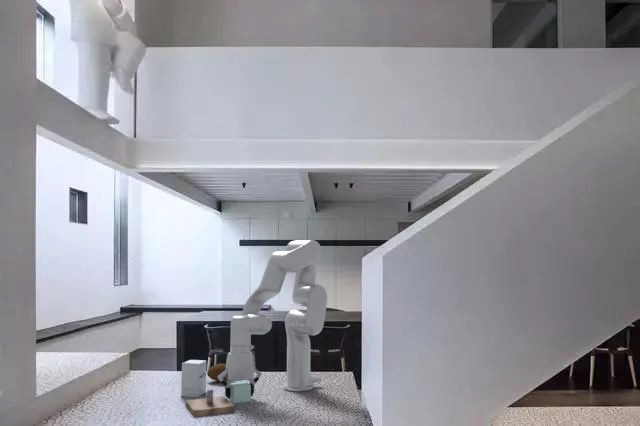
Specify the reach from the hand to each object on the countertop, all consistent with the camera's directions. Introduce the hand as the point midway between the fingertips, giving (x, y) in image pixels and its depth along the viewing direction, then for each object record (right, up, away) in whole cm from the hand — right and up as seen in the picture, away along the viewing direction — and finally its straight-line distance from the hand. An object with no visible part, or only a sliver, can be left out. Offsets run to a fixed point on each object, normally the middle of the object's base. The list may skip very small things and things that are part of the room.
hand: (239, 396), depth 205 cm
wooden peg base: (-9, 0, -12) cm, 15 cm away
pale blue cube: (0, -1, 0) cm, 1 cm away
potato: (-12, -4, +28) cm, 31 cm away
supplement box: (-19, -2, +8) cm, 21 cm away
